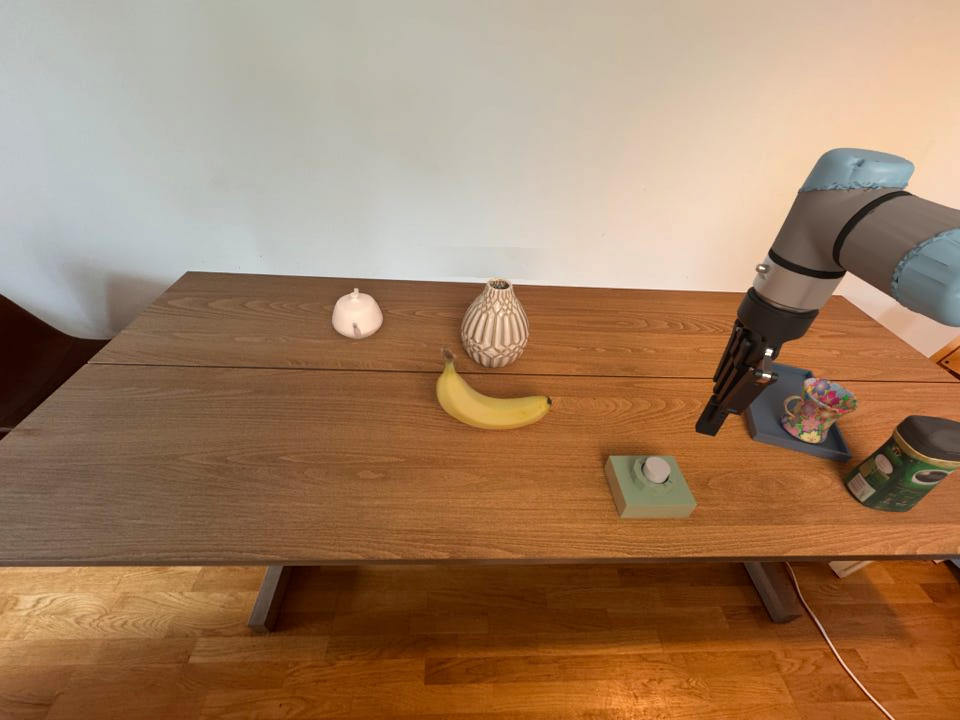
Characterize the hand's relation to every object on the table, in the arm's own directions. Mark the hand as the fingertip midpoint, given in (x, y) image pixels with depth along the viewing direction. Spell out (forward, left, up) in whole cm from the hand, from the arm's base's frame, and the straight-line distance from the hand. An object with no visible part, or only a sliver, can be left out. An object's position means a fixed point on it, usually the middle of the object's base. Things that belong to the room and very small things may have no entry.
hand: (704, 430), depth 64 cm
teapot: (+24, +75, -17) cm, 81 cm away
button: (-1, +4, -12) cm, 12 cm away
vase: (+26, +40, -17) cm, 51 cm away
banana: (+5, +34, -17) cm, 38 cm away
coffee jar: (+13, -37, -17) cm, 43 cm away
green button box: (-1, +4, -17) cm, 18 cm away
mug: (+25, -26, -17) cm, 40 cm away
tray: (+33, -26, -17) cm, 46 cm away
